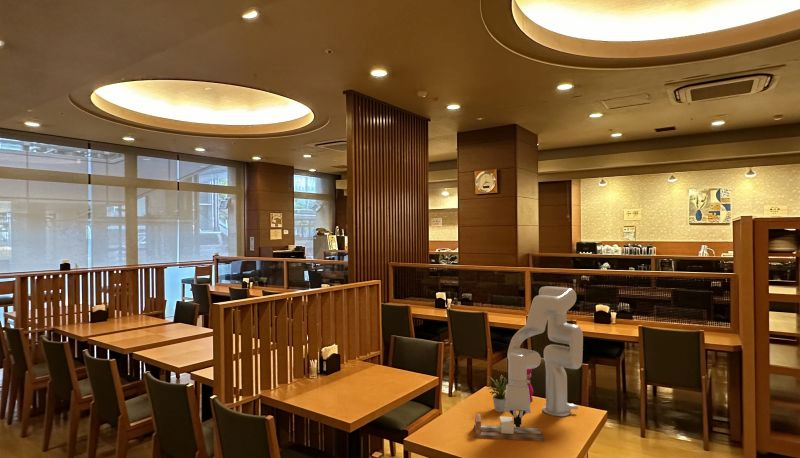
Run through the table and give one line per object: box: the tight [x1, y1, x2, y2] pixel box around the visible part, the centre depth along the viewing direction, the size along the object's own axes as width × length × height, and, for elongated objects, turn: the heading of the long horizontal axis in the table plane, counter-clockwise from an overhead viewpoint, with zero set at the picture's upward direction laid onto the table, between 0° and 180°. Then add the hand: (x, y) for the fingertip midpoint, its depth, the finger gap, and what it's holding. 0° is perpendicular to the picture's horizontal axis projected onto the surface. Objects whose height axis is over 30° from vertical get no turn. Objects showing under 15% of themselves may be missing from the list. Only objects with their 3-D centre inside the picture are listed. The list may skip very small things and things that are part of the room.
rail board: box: [473, 413, 545, 442], centre depth 192 cm, size 28×10×6 cm, turn 83°
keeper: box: [499, 416, 515, 434], centre depth 192 cm, size 5×7×4 cm
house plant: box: [487, 374, 508, 413], centre depth 220 cm, size 14×14×16 cm
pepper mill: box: [527, 369, 534, 403], centre depth 232 cm, size 7×7×20 cm
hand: (517, 426), depth 191 cm, fingers closed
